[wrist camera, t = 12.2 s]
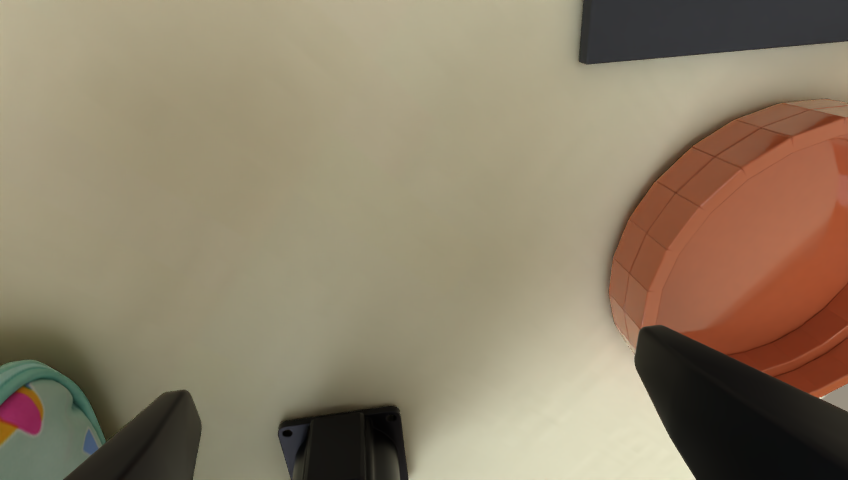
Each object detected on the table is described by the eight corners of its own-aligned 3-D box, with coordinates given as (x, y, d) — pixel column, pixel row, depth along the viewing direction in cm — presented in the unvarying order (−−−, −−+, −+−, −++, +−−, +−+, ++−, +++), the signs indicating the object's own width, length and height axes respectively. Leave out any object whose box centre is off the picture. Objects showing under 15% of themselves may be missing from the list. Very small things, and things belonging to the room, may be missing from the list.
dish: (839, 350, 28) (898, 393, 25) (592, 386, 27) (622, 436, 24) (951, 82, 21) (1053, 96, 18) (625, 115, 20) (674, 135, 17)
